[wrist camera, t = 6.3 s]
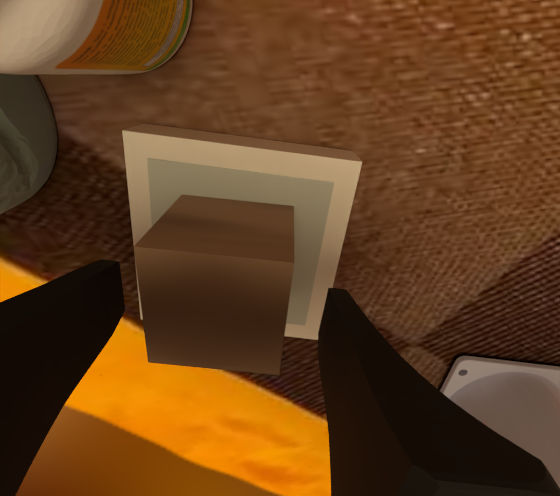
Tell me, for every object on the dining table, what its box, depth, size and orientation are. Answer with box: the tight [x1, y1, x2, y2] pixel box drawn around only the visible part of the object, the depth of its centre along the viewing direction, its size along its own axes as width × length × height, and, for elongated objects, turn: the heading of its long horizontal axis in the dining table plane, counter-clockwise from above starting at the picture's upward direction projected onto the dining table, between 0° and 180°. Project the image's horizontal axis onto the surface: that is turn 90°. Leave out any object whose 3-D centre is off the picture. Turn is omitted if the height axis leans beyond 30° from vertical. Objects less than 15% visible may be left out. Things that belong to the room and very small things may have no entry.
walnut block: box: [134, 194, 294, 375], centre depth 12 cm, size 4×4×4 cm
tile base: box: [122, 123, 362, 340], centre depth 15 cm, size 9×9×2 cm
